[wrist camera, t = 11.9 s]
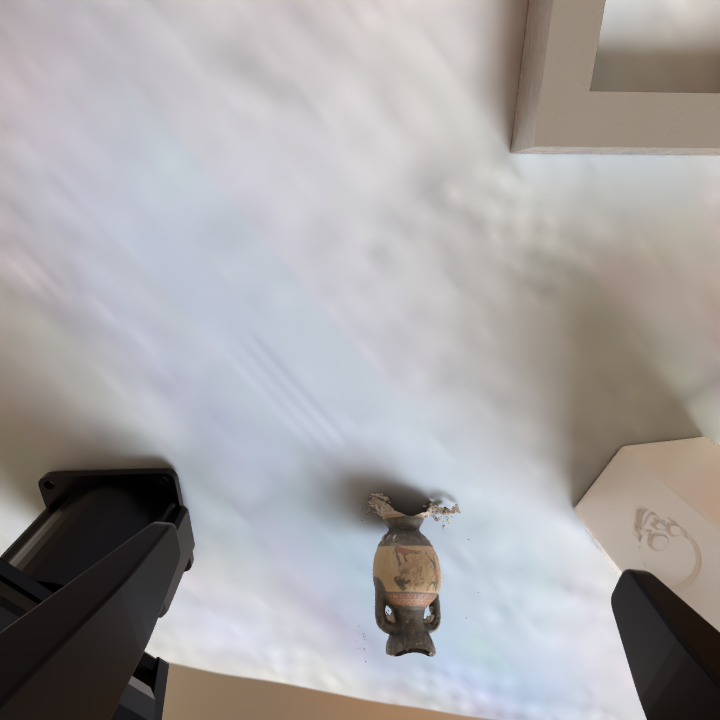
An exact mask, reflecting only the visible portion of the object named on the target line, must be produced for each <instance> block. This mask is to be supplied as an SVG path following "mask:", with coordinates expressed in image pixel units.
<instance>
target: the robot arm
mask: <svg viewBox="0 0 720 720" xmlns="http://www.w3.org/2000/svg"><path fill="white" fill-rule="evenodd" d="M163 477H166V478H168V479H169V481H167V480H165V479H164V478H163ZM50 481H51V482H52V483H54V484H52V483H51V482H50ZM38 483H39V488H40V491H41V494H42V497H43V500H44V503H45V506H46V509H45V510H44V511H43V512H42V513H41V514H40V515H39V516H38V518H37V519H36V520H35V521H34V522H33V523H32V524H31V525H30V526H29V527H28V528H27V529H26V530H25V531H24V532H23V533H22V534H21V535H20V537H19V538H18V539H17V540H16V541H15V542H14V543H13V544H12V545H11V546H10V547H9V548H8V549H7V550H6V551H5V552H4V553H3V554H2V555H1V557H0V720H162V712H163V706H164V697H165V691H166V683H167V675H168V668H169V663H167V662H166V661H164V660H163V659H161V658H160V657H157V658H154V657H153V656H151V655H150V654H148V653H147V652H145V651H144V650H145V648H146V646H147V644H148V642H149V639H150V637H151V634H152V632H153V630H154V627H155V625H156V622H157V619H158V618H161V617H163V616H164V615H165V614H166V613H167V611H168V609H169V607H170V604H171V602H172V600H173V597H174V595H175V592H176V590H177V587H178V585H179V583H180V580H181V578H182V575H183V573H184V572H185V571H188V570H190V568H191V566H192V564H193V561H194V557H193V552H192V551H193V549H194V546H195V543H194V538H193V532H192V527H191V522H190V516H189V511H188V509H187V508H186V506H184V505H183V500H182V495H181V490H180V485H179V479H178V475H177V473H176V472H175V471H174V470H172V469H169V468H155V469H124V470H94V471H63V472H49V473H47V474H45V475H44V476H43V477H42V478H41V479H40V480H39V482H38ZM611 605H612V610H613V613H614V617H615V620H616V623H617V627H618V630H619V633H620V637H621V640H622V644H623V647H624V650H625V654H626V657H627V660H628V664H629V667H630V671H631V674H632V677H633V681H634V684H635V687H636V690H637V693H638V696H639V700H640V702H641V705H642V708H643V710H644V713H645V716H646V718H647V720H720V632H719V631H718V630H717V629H716V628H714V627H713V626H712V625H711V624H710V623H709V622H708V621H706V620H705V619H704V618H703V617H702V616H701V615H700V614H698V613H697V612H696V611H695V610H694V609H693V608H691V607H690V606H689V605H688V604H687V603H686V602H685V601H683V600H682V599H681V598H680V597H679V596H678V595H676V594H675V593H674V592H673V591H672V590H671V589H670V588H668V587H667V586H666V585H665V584H664V583H663V582H662V581H660V580H659V579H658V578H657V577H656V576H655V575H653V574H652V573H650V572H648V571H645V570H636V569H626V570H624V571H623V572H622V574H621V576H620V578H619V581H618V583H617V585H616V587H615V589H614V591H613V593H612V597H611Z"/></svg>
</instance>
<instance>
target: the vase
mask: <svg viewBox="0 0 720 720" xmlns="http://www.w3.org/2000/svg"><path fill="white" fill-rule="evenodd" d="M369 496H370V497H372V500H370V501H369V500H368V503H369V504H371V505H368V507H372V506H373V508H376V510H378V511H377V512H375V511H373V512H374V513H378V515H379V516H382V517H383V518H382V519H383V521H384V523H385V524H386V525H387V527H388V528H389V531H388V532H387V533H386V534H385V535H384V536H383V537H382V540H381V542H380V543H379V545H378V548H377V550H376V553H375V557H374V562H373V581H374V586H375V618H376V623H377V625H378V627H379V628H380V629H381V630H382V631H383V632H385V633H387V634H389V639H388V641H387V644H386V653H387V654H388V655H391V656H401V655H404V654H407V653H412V652H417V653H422V654H425V655H427V656H434V655H435V653H436V652H435V647H434V644H433V641H432V639H431V637H430V635H429V634H430V633H432V632H434V631H436V630H437V629H438V627H439V625H440V619H441V614H440V603H439V595H438V592H439V590H440V585H441V571H440V565H439V560H438V557H437V555H436V552H435V550H434V549H433V546H432V545H431V543H430V541H429V540H427V538H426V537H425V536H424V535H423V534H421V533H420V531H419V528H420V526H421V524H422V522H423V520H424V517H425V518H426V517H428V516H429V515H430V514H432V513H435V514H439V513H440V514H443V516H444V515H446V516H447V515H450V513H455V512H457V513H460V511H459V508H458V505H457V504H455V507H454V506H452V507H453V508H452V510H451V511H450V509H448V508H446V507H444V508H436V507H438V506H439V505H438V504H434V506H433V505H432V503H431V501H430V504H429V506H430V507H429V508H428V509H427V510H426V512H422V513H420V514H417V515H415V516H407V515H405V514H403V513H400V512H398V511H397V512H396V511H394V510H393V508H392V507H391V506H390V505H388V503H387V504H386V501H387V500H388V497H387V496H386V497H385V496H383V493H375V494H373V493H371V495H369ZM379 497H380V498H381V499H380V498H379ZM382 500H384V501H385V502H384V501H382ZM389 500H390V498H389ZM389 500H388V501H389ZM389 503H391V502H389ZM364 504H365V503H364ZM365 505H366V504H365ZM425 505H427V503H426V504H425ZM425 505H423V506H422V507H426V506H425ZM427 507H428V505H427ZM373 508H372V509H373ZM362 509H363V508H362ZM455 510H456V511H455ZM367 511H369V512H370V510H369V509H367ZM429 511H430V512H429ZM431 511H432V512H431ZM369 512H364V513H366V514H367V513H369ZM373 512H372V513H373ZM441 517H442V516H441ZM451 517H452V516H451ZM433 518H434V519H435V516H434V517H433ZM452 518H453V517H452ZM440 519H441V518H439V520H440ZM439 520H438V519H435V521H437V522H438V521H439ZM361 521H362V520H361ZM447 521H449V518H448V519H447ZM443 522H444V521H443ZM448 523H449V522H448ZM444 526H445V525H443V529H444ZM468 540H469V539H468ZM478 593H479V592H478ZM386 605H387V606H388V607H389V608H390V609H391V611H392V613H391V615H389V614H387V615H386V614H385V607H386ZM427 606H429V609H430V612H431V616H429V617H428V616H427V618H426V619H424V611H425V608H426V607H427ZM388 611H389V610H388ZM386 613H387V612H386ZM466 619H467V618H466ZM363 635H364V634H363ZM364 637H365V636H364ZM364 640H365V639H364ZM357 649H358V648H357ZM364 649H365V648H364ZM365 662H366V661H365Z"/></svg>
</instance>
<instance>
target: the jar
mask: <svg viewBox="0 0 720 720" xmlns="http://www.w3.org/2000/svg"><path fill="white" fill-rule="evenodd" d="M575 513H576V514H577V516H578V517H579V519H580V520H581V522H582V524H583V525H584V527H585V528H586V530H587V531H588V533H589V534H590V536H591V537H592V539H593V540H594V542H595V543H596V545H597V546H598V548H599V549H600V551H601V552H602V554H603V556H604V557H605V558H606V560H607V561H608V562H609V564H610V565H611V566H612V568H613V569H614V570H615V572H616V573H617V574H618V575H619V577H620V576H621V574H622V572H623V571H624V570H626V569H636V570H645V571H648V572H650V573H652V574H653V575H655V576H656V577H657V578H658V579H659V580H660V581H662V582H663V583H664V584H665V585H666V586H667V587H668V588H670V589H671V590H672V591H673V592H674V593H675V594H676V595H678V596H679V597H680V598H681V599H682V600H683V601H685V602H686V603H687V604H688V605H689V606H690V607H691V608H693V609H694V610H695V611H696V612H697V613H698V614H700V615H701V616H702V617H703V618H704V619H705V620H706V621H708V622H709V623H710V624H711V625H712V626H713V627H714V628H716V629H717V630H718V631H719V632H720V446H719V445H718V444H716V443H715V442H713V441H711V440H710V439H708V438H706V437H697V438H688V439H680V440H671V441H663V442H654V443H646V444H637V445H628V446H623V447H621V448H620V449H619V451H618V452H617V453H616V455H615V456H614V457H613V459H612V460H611V461H610V462H609V464H608V465H607V466H606V468H605V469H604V470H603V472H602V473H601V474H600V475H599V477H598V478H597V479H596V481H595V482H594V483H593V485H592V486H591V487H590V489H589V490H588V491H587V492H586V494H585V495H584V496H583V498H582V499H581V500H580V502H579V503H578V504H577V505H576V507H575Z"/></svg>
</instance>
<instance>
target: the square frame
mask: <svg viewBox="0 0 720 720" xmlns="http://www.w3.org/2000/svg"><path fill="white" fill-rule="evenodd" d="M605 1H606V0H529V5H528V13H527V22H526V30H525V38H524V47H523V55H522V63H521V72H520V80H519V88H518V97H517V105H516V113H515V122H514V130H513V138H512V147H511V153H546V154H674V155H720V93H671V92H609V91H590V87H591V81H592V75H593V70H594V64H595V58H596V52H597V47H598V41H599V35H600V29H601V24H602V18H603V12H604V6H605Z"/></svg>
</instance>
